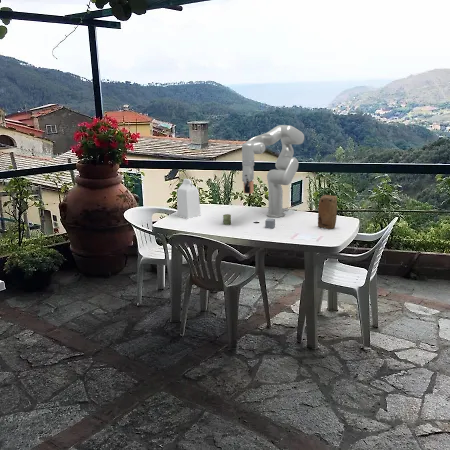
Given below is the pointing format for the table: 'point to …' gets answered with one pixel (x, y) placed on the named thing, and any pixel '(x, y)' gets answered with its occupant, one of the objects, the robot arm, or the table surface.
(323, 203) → the block
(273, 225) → the grey cube
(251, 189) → the terracotta block
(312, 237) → the table surface
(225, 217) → the olive cylinder
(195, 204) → the milk
